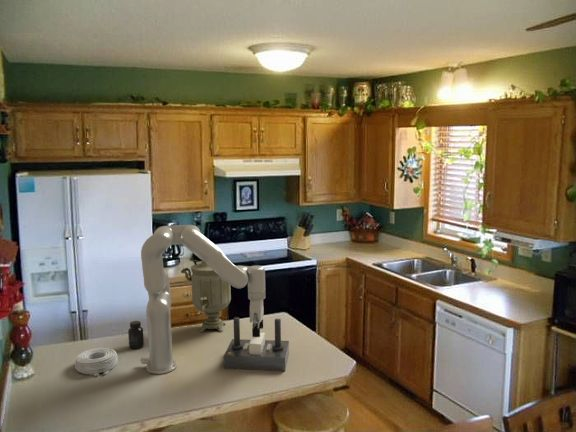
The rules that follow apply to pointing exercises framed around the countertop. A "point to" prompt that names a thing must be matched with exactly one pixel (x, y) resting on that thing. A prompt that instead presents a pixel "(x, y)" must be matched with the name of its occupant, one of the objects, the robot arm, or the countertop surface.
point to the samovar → (208, 293)
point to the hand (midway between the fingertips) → (257, 332)
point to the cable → (96, 361)
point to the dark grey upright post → (237, 335)
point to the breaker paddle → (257, 345)
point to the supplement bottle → (135, 335)
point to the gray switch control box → (257, 357)
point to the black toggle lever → (277, 336)
